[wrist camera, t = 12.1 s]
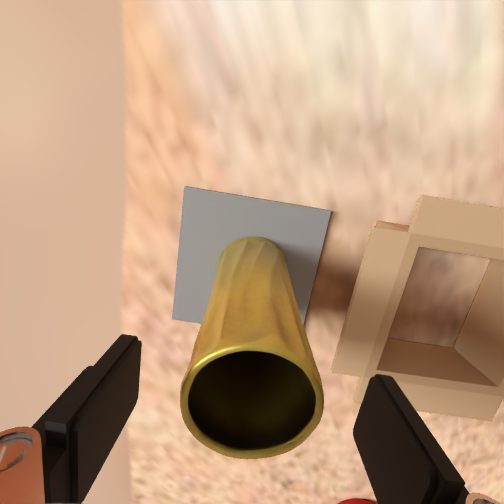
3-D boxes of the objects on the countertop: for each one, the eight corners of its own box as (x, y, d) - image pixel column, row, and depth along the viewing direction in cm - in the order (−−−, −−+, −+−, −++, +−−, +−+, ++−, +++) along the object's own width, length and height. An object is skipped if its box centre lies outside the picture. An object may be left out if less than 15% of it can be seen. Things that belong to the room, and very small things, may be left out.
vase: (297, 286, 24) (360, 438, 10) (235, 312, 24) (213, 488, 11) (270, 224, 22) (298, 303, 8) (204, 254, 23) (132, 371, 9)
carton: (472, 380, 27) (520, 425, 22) (311, 357, 26) (324, 398, 22) (548, 218, 23) (628, 230, 18) (356, 185, 22) (386, 188, 17)
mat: (299, 335, 26) (300, 337, 25) (173, 316, 25) (172, 319, 25) (329, 210, 22) (331, 211, 22) (185, 186, 22) (184, 186, 21)
